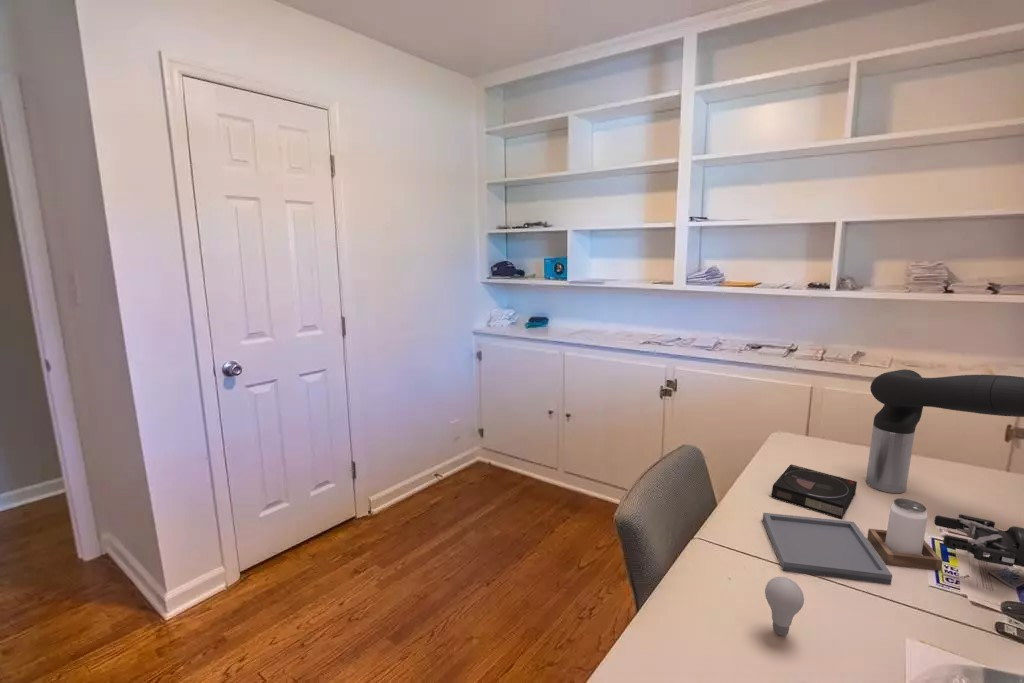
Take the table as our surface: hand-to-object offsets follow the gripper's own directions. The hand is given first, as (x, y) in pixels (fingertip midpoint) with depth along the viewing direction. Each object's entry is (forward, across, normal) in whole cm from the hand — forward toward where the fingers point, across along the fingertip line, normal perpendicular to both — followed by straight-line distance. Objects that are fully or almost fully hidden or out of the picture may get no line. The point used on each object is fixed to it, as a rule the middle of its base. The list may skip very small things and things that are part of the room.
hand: (939, 529), depth 111 cm
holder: (+6, 0, +8) cm, 9 cm away
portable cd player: (+22, -20, +8) cm, 31 cm away
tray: (+22, +6, +8) cm, 24 cm away
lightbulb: (+29, +38, +8) cm, 48 cm away
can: (+6, 0, +8) cm, 10 cm away
